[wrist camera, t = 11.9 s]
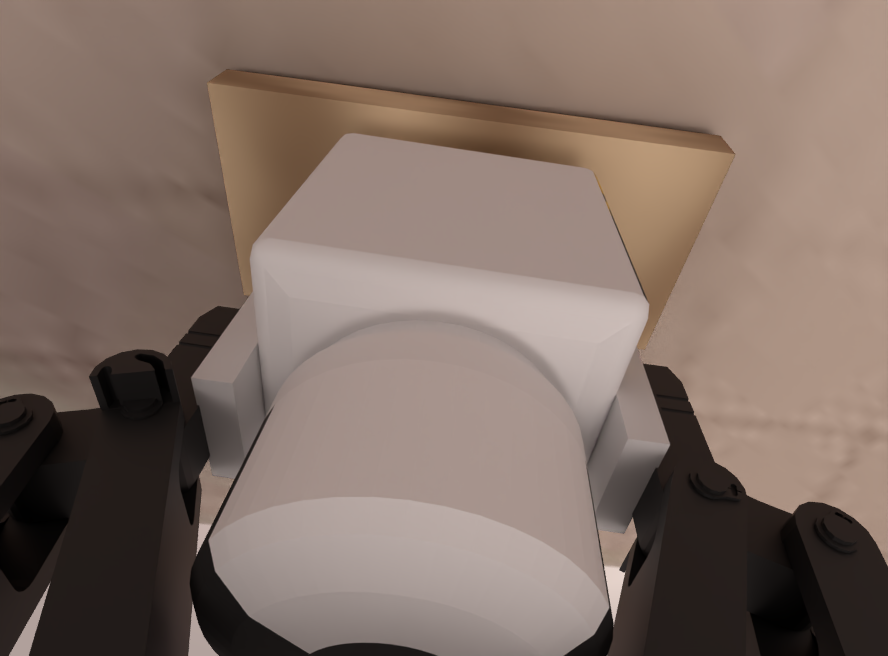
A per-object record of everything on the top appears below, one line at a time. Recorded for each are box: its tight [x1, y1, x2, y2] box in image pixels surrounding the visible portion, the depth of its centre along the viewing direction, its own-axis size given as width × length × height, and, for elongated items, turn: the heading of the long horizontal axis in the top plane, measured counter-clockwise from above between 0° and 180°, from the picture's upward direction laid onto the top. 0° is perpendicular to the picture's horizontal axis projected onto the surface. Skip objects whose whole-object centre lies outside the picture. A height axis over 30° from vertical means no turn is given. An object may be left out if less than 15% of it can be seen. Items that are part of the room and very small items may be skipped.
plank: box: [207, 69, 735, 350], centre depth 19 cm, size 16×8×2 cm, turn 84°
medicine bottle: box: [189, 133, 649, 656], centre depth 12 cm, size 7×7×12 cm
